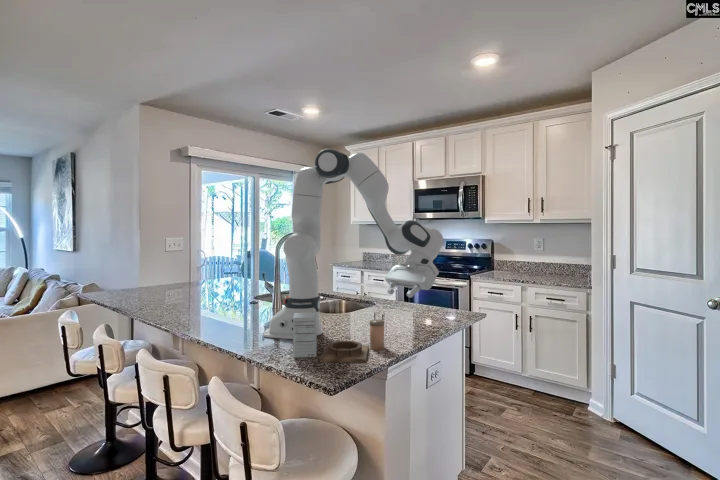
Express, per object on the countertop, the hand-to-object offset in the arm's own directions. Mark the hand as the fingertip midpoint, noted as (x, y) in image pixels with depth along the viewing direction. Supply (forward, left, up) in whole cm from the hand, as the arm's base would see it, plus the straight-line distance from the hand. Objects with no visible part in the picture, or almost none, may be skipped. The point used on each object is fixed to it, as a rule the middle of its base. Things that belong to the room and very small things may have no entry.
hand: (398, 294), depth 138 cm
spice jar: (-8, -8, -17) cm, 20 cm away
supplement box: (-30, -15, -17) cm, 38 cm away
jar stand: (-17, -16, -17) cm, 29 cm away
